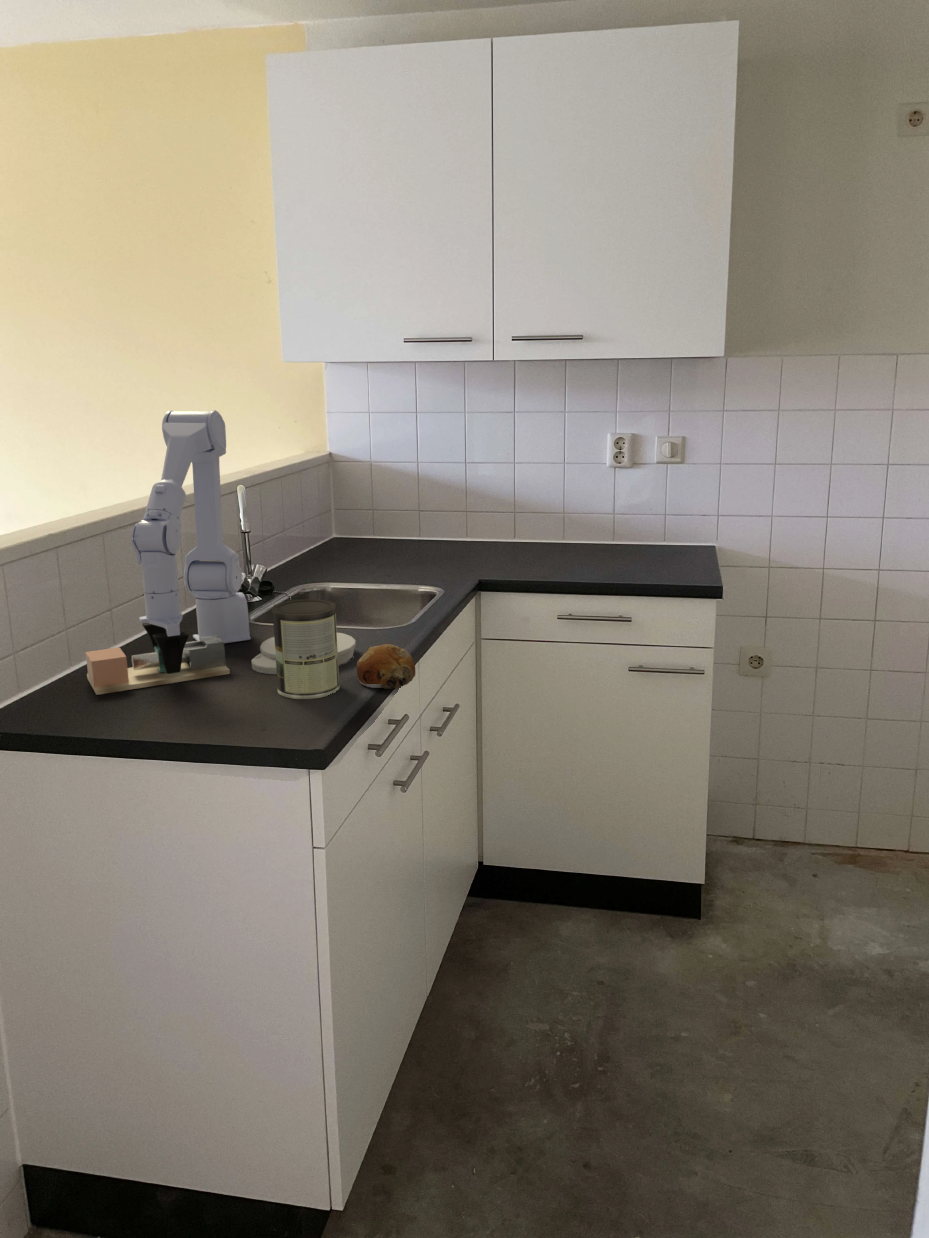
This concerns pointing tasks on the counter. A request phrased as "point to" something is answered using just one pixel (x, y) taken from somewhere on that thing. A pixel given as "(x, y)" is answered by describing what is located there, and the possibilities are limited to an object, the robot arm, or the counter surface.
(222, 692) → the counter surface
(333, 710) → the counter surface
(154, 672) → the board
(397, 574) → the counter surface
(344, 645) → the lid
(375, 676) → the bread roll
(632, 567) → the counter surface
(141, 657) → the tube
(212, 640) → the gray notched block
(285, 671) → the coffee can
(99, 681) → the socket
